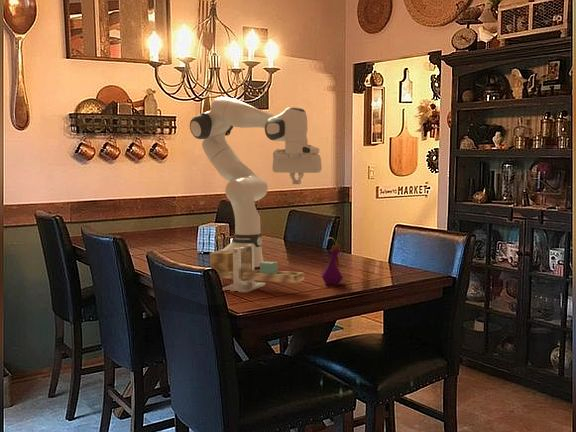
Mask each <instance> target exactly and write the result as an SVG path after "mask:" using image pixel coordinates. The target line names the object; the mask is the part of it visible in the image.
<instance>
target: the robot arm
mask: <svg viewBox="0 0 576 432" xmlns="http://www.w3.org/2000/svg"><path fill="white" fill-rule="evenodd" d="M233 128H242V129H244V128H246V129H247V128H264V132H265V136H266V138H267V139H269V140H270V141H275V142H284V148H283V149H281V148H280V149H279V148H278V149H275V150H274V151H273V152H272V153H273V154H272V166H271V167H272V168H271V169H272V171H273V173H289V177H290V179H291V180H292V185H302V179H303V177H305V176H304V175H305V174H318V173H319V174H320V172H321V171H322V167H323V166H322V159H321V156H320V154H319V153H320V148H319V147H316V146H314V145H310V144H309V143H308V138H307V137H308V135H307V134H308V116H307V112H306V110H305V109H303V108H300V107H294V106H292V107H291V106H289V107H287V108H285V110H284V111H282V112H281V113H279V114H277V115H275V114H273V113H269V112H266V111H264V110H261V109H259V108H256V107H254V106H252V105H251V104H248V103H246V102H243V101H242V100H238V99H236V98H232V97H227V96H220V97H219V96H218V97H217V98H215V99H214V100H212V102H211V105H210V110H208V111H206V112H201V113H199V114H197V115H195V116H193V118H191V120H190V122H189V130H190V133H191V134H192V136H193V137H194V138H195V139H197V140H202V143H201V147H202V150H203V151H204V154H205V156H206V157H207V159H208V160H209V161H210V162H211V164H212V166H213V167H214V168H215V170H216V171H217V172H218V173H219V175H220V177H222V178H223V179H225V181H226V180H227V181H228V183H227V184H226V186H225V188H224V191H225V196H226V198H227V199H228V201H230V205H231V207H232V210H233V215H234V225H235V226H234V232H235V233H233V234H232V235H231V236H230V239H231V242H230V243H229V244H228V245H226V246H225V247H224V248H223V249H222V250H221V251H233V248H243V247H246V245H254V268H260V263H262V262H265V261H264V257H263V251H262V243H263V241H262V240H263V239H262V237H263V236H262V233H261V216H260V213H259V212H258V211H257V208H256V207H257V206H256V203H255V202H257V201H259V200H261V199H263V198H264V197H266V196H267V193H268V190H269V187H268V183H267V181H266V180H265V179H263V178H262V177H260V176H259V175H257V174H256V173H255V172H254V171H253V170H252V169H250V167H248V166H247V165H246V164H245V163H244V162H243V161H242V160H241V159H240V157H239V156H238V155H237V154H236V152H235V150H234V149H233V148H232V147H231V146H230V144H229V143H228V141H227V140H226V136H227V137H228V136H229V135H230V134H231V131H232V130H233ZM304 173H305V174H304ZM296 174H297V176H298V177H297V179H296V177H295V176H296Z"/></svg>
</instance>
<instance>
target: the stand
mask: <svg viewBox="0 0 576 432" xmlns="http://www.w3.org/2000/svg"><path fill="white" fill-rule="evenodd" d="M245 250H251V270H255V267H254V245H246V247H243V248H233V279H232V281H233V283H231V284H229V285H226V286H222V289H223V288H224V290H223V291H225V290H230V291H229V292H234V291H238V292H237V293H244V292H245V293H246V294H247V293H249V292H251V291H254V290H257V289H260V288H262V287H265V286H266V282H263V281H260V282H259V281H256V280H243V279H242V273H241V251H245ZM245 293H244V294H245Z"/></svg>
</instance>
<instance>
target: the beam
mask: <svg viewBox="0 0 576 432" xmlns="http://www.w3.org/2000/svg"><path fill="white" fill-rule="evenodd" d="M209 265H210V267H209V268H214V269H215V270H216V271H217V272H218V273H219V276H220V278H219V279H229V280H233V251H222V250H216V251H212V252H209ZM241 273H242V281H247V280H255V281H257V282H259V281H260V282H277V283H289V284H290V283H292V284H298V283H299V282H302V281H304V280H305V272H303V271H302V272H300V271H299V272H298V271H286V270H285V271H284V270H281V271H280V270H278V274H268V273H260V269H254V270H251V250H245V251H241Z"/></svg>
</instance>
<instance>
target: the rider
mask: <svg viewBox="0 0 576 432" xmlns="http://www.w3.org/2000/svg"><path fill="white" fill-rule="evenodd" d="M259 270H260V273H268V274H278V271H279V270H278V261H264V262H262V263H260V267H259Z"/></svg>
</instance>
